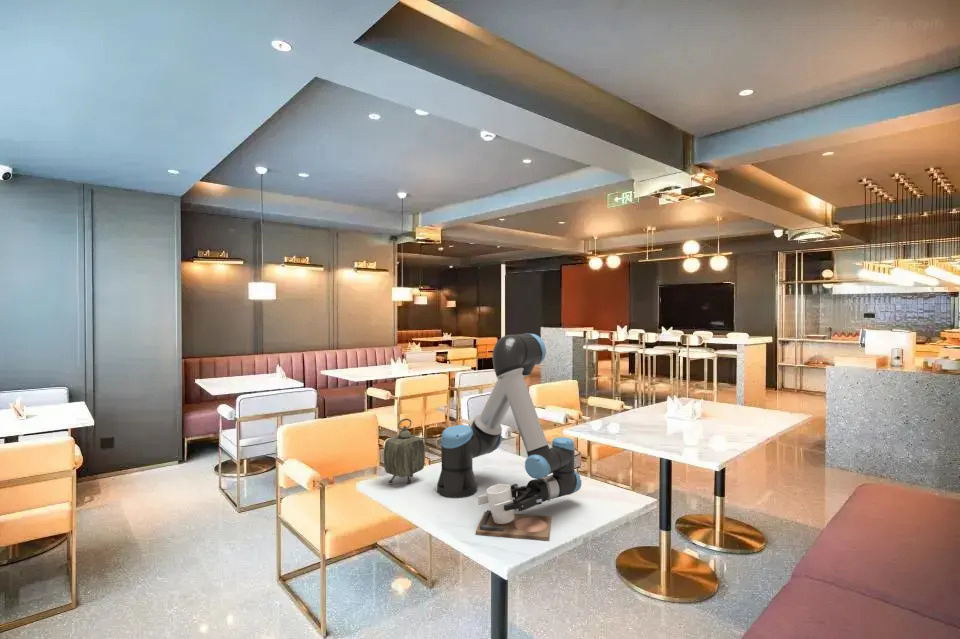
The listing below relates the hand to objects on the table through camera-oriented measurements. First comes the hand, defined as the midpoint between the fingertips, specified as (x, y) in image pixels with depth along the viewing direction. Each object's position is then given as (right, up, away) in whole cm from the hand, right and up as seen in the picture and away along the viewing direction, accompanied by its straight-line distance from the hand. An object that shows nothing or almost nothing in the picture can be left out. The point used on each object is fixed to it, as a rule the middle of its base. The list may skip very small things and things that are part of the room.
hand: (486, 505), depth 154 cm
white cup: (+6, -6, +3) cm, 9 cm away
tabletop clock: (-31, -7, +42) cm, 53 cm away
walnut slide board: (+9, -8, +2) cm, 12 cm away
